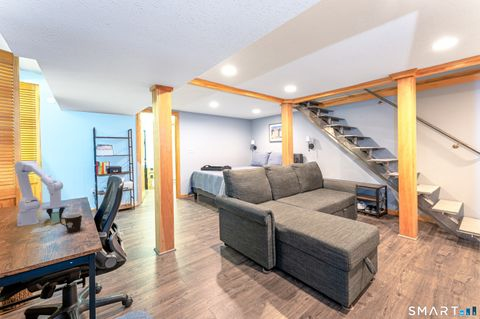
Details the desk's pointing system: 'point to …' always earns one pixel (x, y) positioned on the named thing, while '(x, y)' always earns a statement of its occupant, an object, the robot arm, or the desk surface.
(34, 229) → the pad
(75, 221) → the coffee mug
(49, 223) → the tan shallow tray
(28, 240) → the desk surface
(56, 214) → the block
